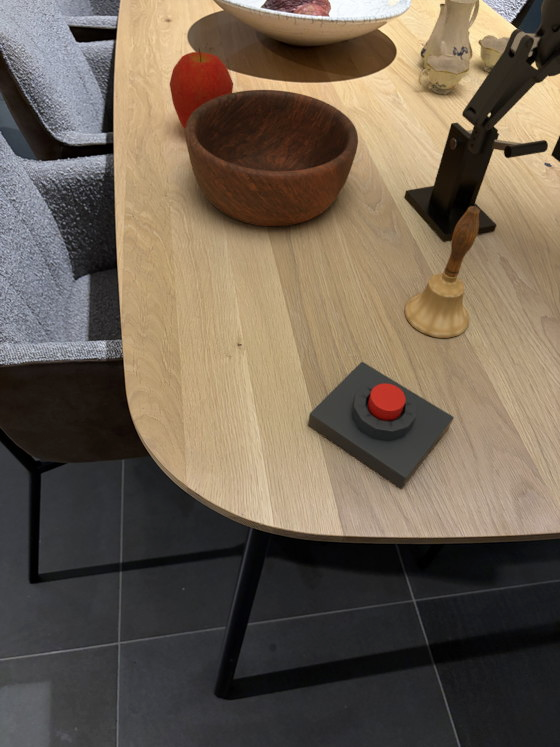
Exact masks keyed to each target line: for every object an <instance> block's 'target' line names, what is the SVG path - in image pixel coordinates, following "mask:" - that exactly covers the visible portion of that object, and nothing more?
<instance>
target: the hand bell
mask: <svg viewBox="0 0 560 747" xmlns="http://www.w3.org/2000/svg"><path fill="white" fill-rule="evenodd" d="M479 212H480V210H479V209H478V208H477V207H474V206H470V207H469V208H468V209H467V211H466V212H465V214H464V215H463V216H462V217H461V219H460V220H459V221H458V223H457V225H456V227H455V229H454V232H453V236H452V240H451V242H450V244H451V245H450V247H451V249H450V250H451V251H450V255H449V258H448V260H447V263H446V265H445V267H444V271H443V272H441V273H435V274H433V275H432V276H431V277H430V278H429V279H428V282H427V284H426V286H425V288H424V289H423V291H422V292H420V293H418V294H415V295H414V296H412V297H411V298H410V299H409V300H408V301H407V302H406V304H405V306H404V316H405V318H406V320H407V322H408V323H409V324H410V326H412V328H414V329H415V330H417V331H418V332H420V333H422V334H423V335H427V336H429V337H433V338H441V339H448V338H454V337H457V336H460V335H461V334H463V333H464V332H466V330H467V329H468V327H469V324H470V315H469V313H468V310H467V308H466V307H465V305H464V303H463V302H464V294H465V291H466V290H465V289H466V288H465V284H464V281H463V280H461V278H459V277H458V276H459V273H460V270H461V267H462V263H463V260H464V258H465V256H466V255H467V253H468V252H469V251H470V250H471V248H472V247H473V245H474V244H475V241H476V239H477V236H478V235H479V234H478V229H479ZM477 234H478V235H477Z"/></svg>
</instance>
